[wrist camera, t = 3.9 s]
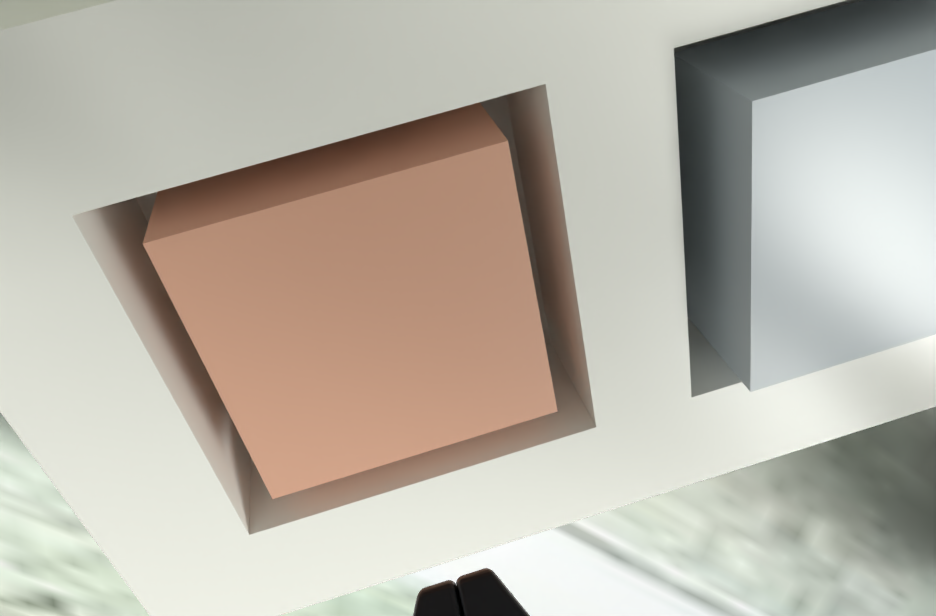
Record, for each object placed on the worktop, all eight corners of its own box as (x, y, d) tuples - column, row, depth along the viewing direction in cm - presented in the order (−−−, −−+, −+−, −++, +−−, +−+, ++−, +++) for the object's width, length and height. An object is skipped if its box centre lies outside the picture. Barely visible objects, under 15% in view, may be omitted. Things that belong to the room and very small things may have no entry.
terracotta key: (519, 333, 17) (557, 411, 15) (272, 408, 17) (272, 499, 15) (469, 89, 14) (508, 141, 12) (162, 173, 14) (142, 244, 11)
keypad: (1241, 172, 22) (1441, 245, 18) (191, 492, 20) (174, 648, 16) (1463, -386, 15) (1853, -451, 11) (-93, 13, 13) (-235, 91, 9)
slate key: (927, 240, 17) (1028, 305, 15) (685, 314, 17) (750, 391, 14) (969, -30, 14) (1104, 1, 12) (671, 53, 13) (752, 101, 11)
